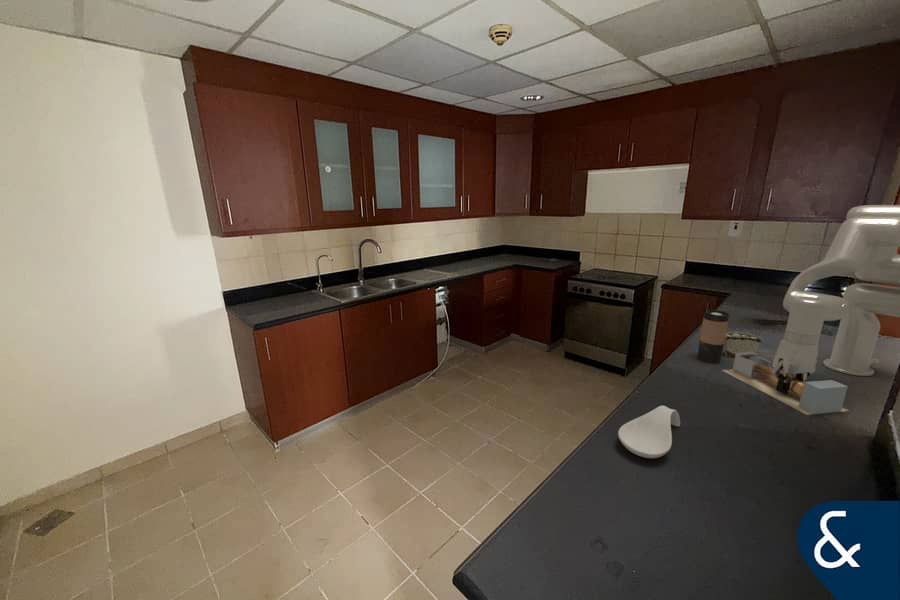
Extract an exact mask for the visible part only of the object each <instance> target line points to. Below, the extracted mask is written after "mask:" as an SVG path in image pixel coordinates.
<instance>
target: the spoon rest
mask: <svg viewBox="0 0 900 600" xmlns="http://www.w3.org/2000/svg"><path fill="white" fill-rule="evenodd" d="M671 426H674V427H680V426H681V419H680V414H679V412H678V411H677V410H676V409H672V408H669V407H668V406H665V405H659V406H658V407H655V408H654V409H652V410H650V411H649V412H647V413H645V414H643V415H641V416H638V417H637V418H634V419H632V420H630V421H628V422H626V423H624V424H622V425H621V426H620V427H619V429H618V431H617V436H618V438H619V441H620V442H621V444H622V445H623V446H624V448H625V449H627V450H628V451H629V452H630V453H632V454H634V455H636V456H639V457H642V458H645V459H657V458H661V457H662V456H664V455H666V454H667V453H668V452H669V451H670V450H671V448H672V442H673V436H672V435H673V434H672V427H671Z"/></svg>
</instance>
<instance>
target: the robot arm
mask: <svg viewBox="0 0 900 600" xmlns="http://www.w3.org/2000/svg"><path fill="white" fill-rule="evenodd" d="M899 247H900V204H866V205H865V204H864V205H857V206H854V207H851V208H850V209H849V210H848V211H847V213H846V220H844V222H842V223H841V225H840V227H839V229H837V232H836V234H835V236H834V239H833V240H832V242H831V245H830V246H829V248H828V250H827V252H826V254H825V255H824V258H823V260H822V261H819V262H818V263H816V264H814V265H811V266H810V267H808V268H806V269H805V270H803V271H802V272H800V273H799V274H798V275H797V276H796V277H795V278H793V280H792V282H791V284H790V285H789V288H788V290H786V294H785V295H784V298H783V303H782V306H783V308H784V310H786V312H789V315H788V320H787V324H786V328H785V332H784V333H785V334H784V338H783V339H781V341H780V342H779V344H778V347H777V349H776V351H775V354H774V358H773V362H772V367H771V368H773V370H772V371H771V373H773V374H774V375H775V376H776V377H777V379H778V383H777V387H776V390H777V391H779V392H781V393H783V394H788V390H789V386H790V383H788V382H789V379H790V377H793V378H795V379H797V380H800V381H803V382H807V380H808V378H809V377H810V376H811V375H812V374H813V373H815V372H816V366H817V362H818V355H819V341H820V337H821V333H822V329H823V325H824V322H835V321H838V320H840V322H839V325H838V329H837V333H836V337H835V340H834V344H833V348H832V351H831V355H830V358H826V359H824V360H823V361H822V362H823V363H822V364H823V365H824V366H825V367H826V368H829V369H831V370H833V371H836V372H840V373H842V374H847V375H851V376H859V377H869V376H873V375H874V374H875V370H874V369H873V368H872V367H871V365H877V364H879V363H880V360H879V359H877V358H872V357H873V352H874V350H875V346H876V343H877V339H878V336H879V333H880V330H881V323H880V321H879V319H878V317H877V316H876V314H879V315H886V316H891V317H895V318H896V317H897V318H900V254H899V253H898V249H899ZM852 273H854V276H855V278H856V279H858V280H862V281H866V283H861V282H860V283H853V284H850V285H848V286H847V287H846V288H845V290H844V292H843V297H841V296H836V295H831V294H826V293H819V292H814V291H813V292H812V291H806V289H807V288H808V287H809V286H810V285H811V284H813V283H815V282H817V281H818V280H821V279H826V278H829V277H835V276H841V275H845V274H852ZM867 282H873V283H867ZM875 283H879V284H875ZM880 283H881V284H880ZM883 284H886V285H883ZM887 284H888V285H887ZM889 285H896V286H889ZM898 286H899V287H898ZM783 374H786V376H784V375H783ZM792 375H793V376H792Z"/></svg>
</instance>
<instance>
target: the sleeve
mask: <svg viewBox="0 0 900 600" xmlns="http://www.w3.org/2000/svg"><path fill="white" fill-rule="evenodd" d="M744 357H749V359H746V358H744ZM758 364H764V365H766V366H768V367H770V368H771V364H772V361H770V360H768V359H765V358H763V357H761V356H759V353H755V352H741V353H736V355H735V358H734V360H733V365H732V366H733V367H732V369H733V371H734V372H736V373H738V374H740V375H742V376H744V377H746V378H748V379H750V380H754V379H765V378H763V377H761V376H759V375H757V374H755V373H754V371H755V367H756V365H758Z"/></svg>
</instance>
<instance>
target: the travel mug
mask: <svg viewBox="0 0 900 600" xmlns="http://www.w3.org/2000/svg"><path fill="white" fill-rule="evenodd" d="M729 317H730V314H729V312H726V311H723V310H722V311H721V310H716V309H715V310H714V309H708V310H706V311H704V313H703V319H702V324H701V328H700V329H701V330H700V331H701V332H700V336H699V343H698V351H697V359H698V360H699V361H701V362H702V363H707V364H716V365H717V364H720V363H721V359H722V355H723V350H724V348H725V347H724V346H725V343H726V339H725V336H726V333H727V329H728V325H729V324H728V323H729Z"/></svg>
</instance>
